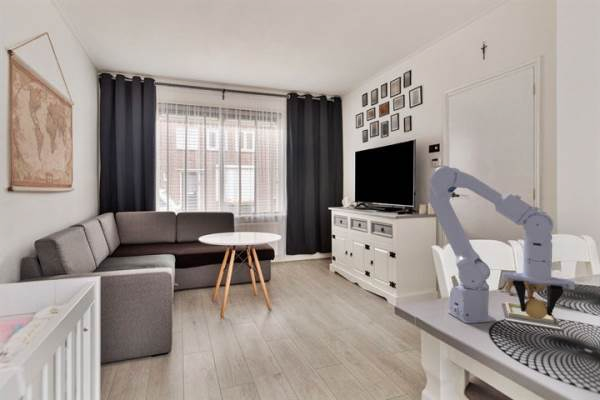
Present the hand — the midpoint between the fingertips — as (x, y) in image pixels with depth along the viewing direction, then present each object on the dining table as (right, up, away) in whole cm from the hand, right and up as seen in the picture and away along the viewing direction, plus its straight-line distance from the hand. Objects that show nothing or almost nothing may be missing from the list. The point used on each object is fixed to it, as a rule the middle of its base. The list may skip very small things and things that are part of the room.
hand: (535, 312), depth 81 cm
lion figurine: (+16, -5, +27) cm, 32 cm away
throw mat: (+6, -5, +10) cm, 13 cm away
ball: (0, +1, 0) cm, 1 cm away
